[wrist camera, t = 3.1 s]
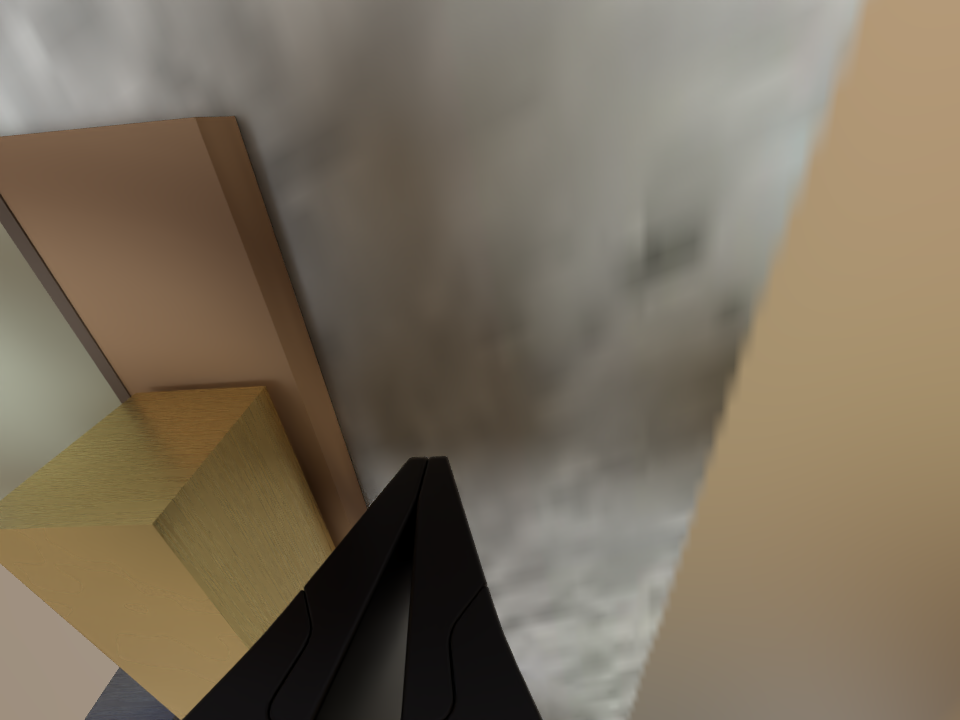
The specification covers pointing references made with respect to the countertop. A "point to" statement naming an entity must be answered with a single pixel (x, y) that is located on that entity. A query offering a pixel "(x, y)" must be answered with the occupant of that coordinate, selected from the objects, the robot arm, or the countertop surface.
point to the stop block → (128, 702)
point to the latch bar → (170, 535)
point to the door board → (149, 294)
